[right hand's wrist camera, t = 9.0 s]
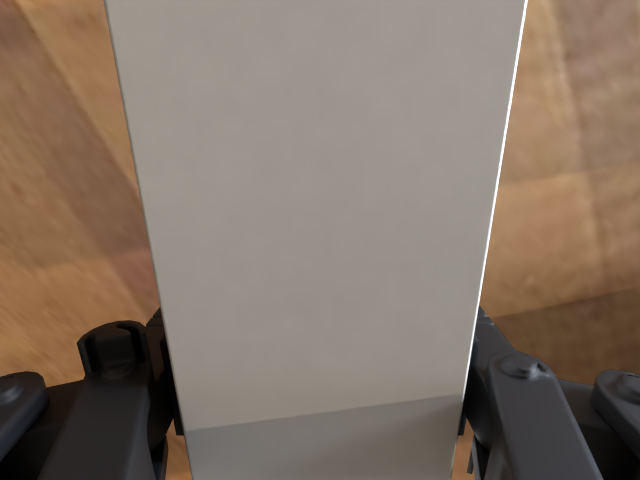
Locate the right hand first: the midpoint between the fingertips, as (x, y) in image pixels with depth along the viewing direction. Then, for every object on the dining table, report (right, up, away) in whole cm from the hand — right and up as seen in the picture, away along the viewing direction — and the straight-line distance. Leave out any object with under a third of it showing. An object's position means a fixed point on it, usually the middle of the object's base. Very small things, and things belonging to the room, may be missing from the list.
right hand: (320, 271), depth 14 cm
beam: (0, +32, -11) cm, 34 cm away
